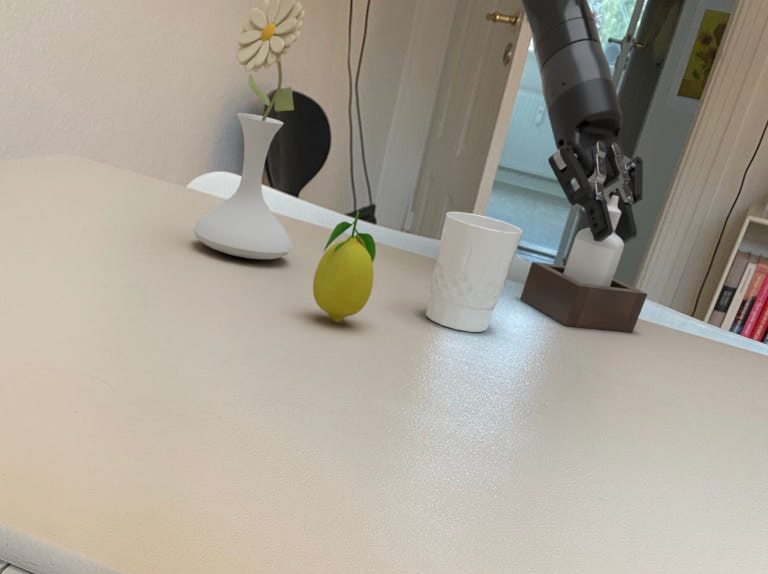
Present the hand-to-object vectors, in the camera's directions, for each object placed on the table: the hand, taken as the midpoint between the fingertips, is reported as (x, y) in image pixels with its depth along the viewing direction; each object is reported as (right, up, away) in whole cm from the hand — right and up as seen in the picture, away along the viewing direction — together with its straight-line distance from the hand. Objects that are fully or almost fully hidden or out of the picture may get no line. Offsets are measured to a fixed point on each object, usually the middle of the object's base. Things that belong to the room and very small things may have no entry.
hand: (616, 238), depth 104 cm
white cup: (-20, -12, -7) cm, 24 cm away
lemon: (-33, -16, -16) cm, 40 cm away
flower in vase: (-43, -2, 0) cm, 43 cm away
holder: (-3, -7, +6) cm, 10 cm away
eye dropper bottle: (-3, -5, +6) cm, 9 cm away
